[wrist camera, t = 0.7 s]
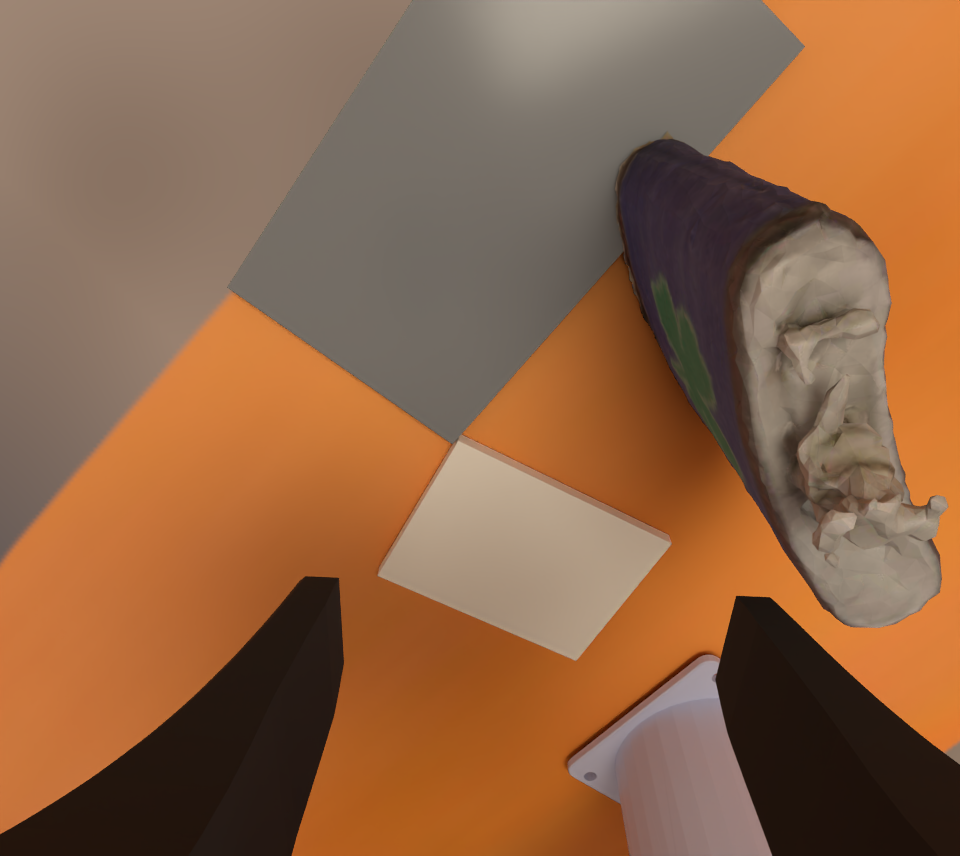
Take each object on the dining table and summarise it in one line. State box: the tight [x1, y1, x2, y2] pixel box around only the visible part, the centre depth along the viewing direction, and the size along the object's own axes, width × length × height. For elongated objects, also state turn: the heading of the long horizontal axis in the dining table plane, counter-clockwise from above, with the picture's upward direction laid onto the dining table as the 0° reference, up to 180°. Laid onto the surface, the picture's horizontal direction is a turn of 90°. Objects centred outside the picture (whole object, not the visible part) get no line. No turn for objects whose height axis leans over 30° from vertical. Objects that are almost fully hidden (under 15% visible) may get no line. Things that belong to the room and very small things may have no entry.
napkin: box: [377, 434, 672, 661], centre depth 25 cm, size 8×6×1 cm
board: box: [227, 0, 805, 444], centre depth 19 cm, size 8×14×1 cm, turn 142°
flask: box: [615, 131, 948, 628], centre depth 16 cm, size 9×3×11 cm, turn 25°
